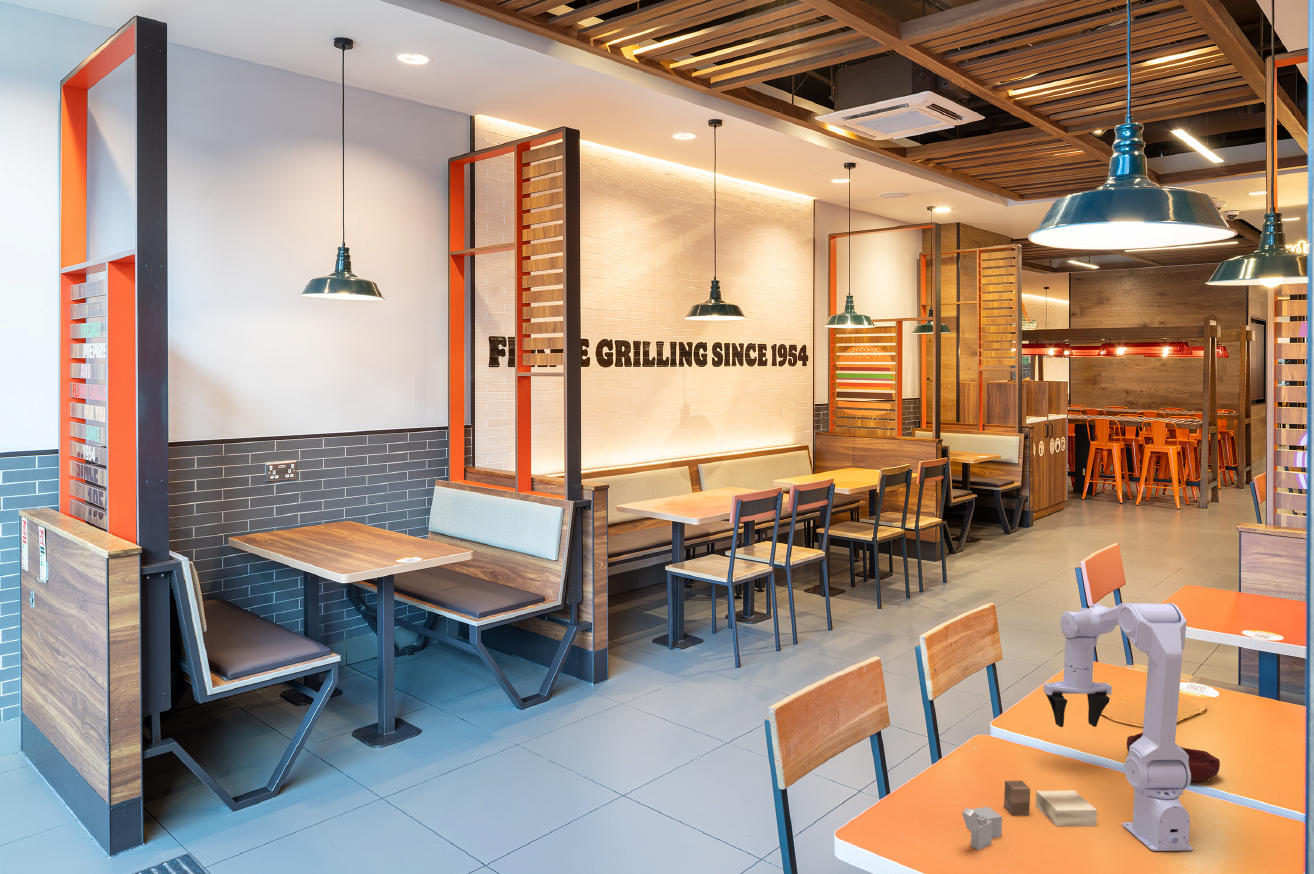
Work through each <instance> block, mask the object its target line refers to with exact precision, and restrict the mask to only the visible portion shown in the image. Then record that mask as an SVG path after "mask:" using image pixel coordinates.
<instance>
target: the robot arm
mask: <svg viewBox="0 0 1314 874" xmlns="http://www.w3.org/2000/svg"><path fill="white" fill-rule="evenodd" d="M1059 623H1060V629H1061V632H1062V634H1063V636H1064V637H1065V639H1064V640H1065V641H1064V643H1065V644H1064V660H1063V661H1064V662H1063V663H1064V666H1063V668H1064V669H1063V680H1061V681H1056V682H1055V681H1054V682H1047V683H1043V693H1044V694H1045V696H1046V697H1047V699H1048V701H1049V704H1050V706H1051V709H1052V712H1053V716H1054V723H1055V725H1056V726H1058V727H1059V728H1063V727H1064V724H1065V711H1066V706H1067V704H1068V699H1066V698H1064V697H1065V696H1064V695H1067V694H1068V695H1069V694H1070V695H1072V694H1073V695H1074V694H1075V695H1078V694H1085V695H1086V696H1087V704H1088V711H1087V712H1088V715H1087V720H1088V724H1089V725H1090V726H1092V727H1093V728H1096V727H1097V726H1098V723H1099V721H1100V720H1099V719H1100V718H1101V716H1102V715H1101V713H1102V712H1103V711H1104V709H1105V708H1106V706H1107V705H1109V704H1108V703H1109V700H1110V698H1109V697H1108V696H1111V695H1112V691H1113V689H1112V688H1113V687H1112V685H1110V684H1109V683H1106V682H1094V681H1093V674H1094V673H1093V672H1094V653H1095V652H1094V651H1095V650H1094V649H1095V647H1097V645H1098V639H1099V637H1100V635H1105V634H1109V633H1111V632H1113V631H1114V630H1115V629H1116V627H1117V626H1119V627H1120V629H1121V630H1122V632H1123V634H1125V636H1126V637H1127V638H1128V639H1129V641H1130V642H1131V643H1132V644H1133V645H1134V647H1136V649H1137V650H1139V652H1142V653H1144V654H1146V655H1147V658H1148V660H1147V661H1148V664H1147V674H1146V675H1147V676H1146V686H1145V687H1146V693H1145V699H1144V702H1145V703H1144V713H1143V723H1142V724H1143V728H1142V732H1143V736H1142V737H1141V738H1140V739H1138V740H1137V741H1135V742H1134V743H1133V744H1132V745H1130V747H1129V752H1128V755H1127V756H1126V759H1125V761H1124V765H1123V768H1124V769H1123V770H1124V774H1125V777H1126V780H1127V782H1128V783H1129V785H1131V787H1132V788H1133V789H1134V791H1133V792H1134V793H1133V808H1132V810H1133V811H1132V814H1133V815H1132V821H1131V822H1130V821H1129V822H1122V823H1121V824H1122V826H1123V827H1124V828H1125V829H1127V831H1128V832H1129V833H1131V834H1132V835H1133V836H1134V837H1135V838H1136V839H1138V840H1139V841H1141V842H1140V843H1142V844H1144V845H1145V846H1146V847H1147V848H1149V849H1150V850H1151V851H1153V852H1162V851H1163V852H1167V851H1169V852H1171V851H1174V852H1175V851H1193V850H1194V847H1193V846H1192V845H1190V844H1189V843H1190V842H1189V841H1190V827H1191V826H1190V825H1191V822H1190V821H1191V819H1190V814H1189V812H1188V810H1187V809H1186V808H1185V807H1184V806H1183V805H1182V803H1181V801H1180V796H1183V795H1184V793H1183V792H1184V790H1187V789H1188V788H1189V787H1190V785H1191V782H1192V780H1191V772H1190V769H1189V762H1188V761H1189V756H1188V755H1187V753H1186V752H1185V751H1184V750H1183V749H1182V748H1181V747H1182V746H1179V745H1178V744H1177V743H1176V738H1177V737H1176V735H1177V720H1178V712H1179V701H1180V698H1179V692H1180V688H1181V686H1180V685H1181V676H1182V675H1181V673H1182V664H1183V663H1182V662H1183V651H1184V650H1185V643H1186V633H1187V619H1186V618H1185V616H1184V614H1183V613H1182V611H1181V609H1180V608H1179V607H1178V606H1177V605H1176V604H1174V603H1171V602H1167V603H1148V602H1147V603H1141V602H1140V603H1138V602H1137V603H1135V602H1134V603H1133V602H1132V603H1131V602H1127V603H1123V602H1122V603H1119V604H1118V605H1115V606H1112V607H1108V606H1104V605H1102V604H1101V603H1093V604H1091V605H1090V608H1088V607H1082V608H1080V609H1079V611H1070V610H1066V611H1065V612H1063V613H1062V614H1061V617H1060V622H1059ZM1063 694H1064V695H1063Z"/></svg>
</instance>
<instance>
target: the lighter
mask: <svg viewBox="0 0 1314 874" xmlns="http://www.w3.org/2000/svg"><path fill="white" fill-rule="evenodd" d="M971 809H972V808H969V807H967V806H966V807H965V809H964V810H963V811H962V812H961V814H962V817H963V820H964V824H965V827H966V828H967V830H969V831H970V833H971V834H970V847H971V848H973V849H974V850H976V851H980V850H982V849H984V848H986V847H988V846H990V845H992V839H991V834H992V821H990V820H988V819H987V817H986V816H979V817H977V819H976V815H975V812H974V811H973V810H971Z"/></svg>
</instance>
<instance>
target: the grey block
mask: <svg viewBox="0 0 1314 874" xmlns="http://www.w3.org/2000/svg"><path fill="white" fill-rule="evenodd" d="M970 809H971V810H973V811H974V812H975V815H976V819H977V817H979V816H986V817H987V819H988V820H990V821H992V834H991V840H992V839H996V838H1002V827H1003V826H1002V825H1003V816H1002V815H1000V814H999V813H998V812H996V811H994V810H993V808H991V807H989V806H984V807H977V808H970Z"/></svg>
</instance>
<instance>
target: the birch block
mask: <svg viewBox="0 0 1314 874" xmlns="http://www.w3.org/2000/svg"><path fill="white" fill-rule="evenodd" d="M1035 793H1036V794H1035V807H1036V809H1038V810H1039V811H1040V812H1041V813H1042V814H1043V815H1044V816H1045V817H1046V818H1047V819H1048V820H1049V821H1050V822H1051V823H1052V824H1053V825H1054V826H1055V827H1096V826H1097V819H1098V818H1097V817H1098V809H1096V807H1094V806H1093V805H1092V804H1090V803H1089V802H1088V801H1087V800H1086V799H1085V798H1084V797H1083V796H1082V795H1080V794H1079V793H1078V792H1077V791H1076V790H1071V789H1070V790H1036V791H1035Z"/></svg>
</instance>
